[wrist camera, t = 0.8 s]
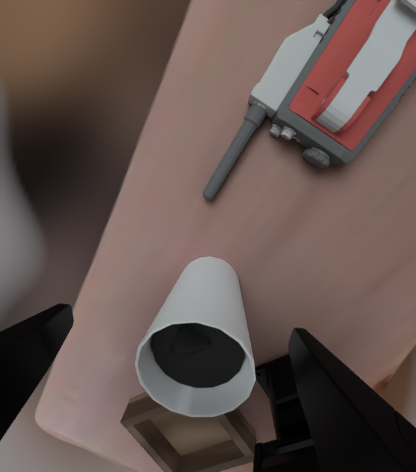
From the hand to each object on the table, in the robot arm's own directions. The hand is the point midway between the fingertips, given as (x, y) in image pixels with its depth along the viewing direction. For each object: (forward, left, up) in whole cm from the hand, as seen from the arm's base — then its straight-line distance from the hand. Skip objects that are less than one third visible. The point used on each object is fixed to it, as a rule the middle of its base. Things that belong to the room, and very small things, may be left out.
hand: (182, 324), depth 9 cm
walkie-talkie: (+5, -12, -13) cm, 18 cm away
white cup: (-4, +2, -12) cm, 13 cm away
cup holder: (-18, +13, -12) cm, 25 cm away
